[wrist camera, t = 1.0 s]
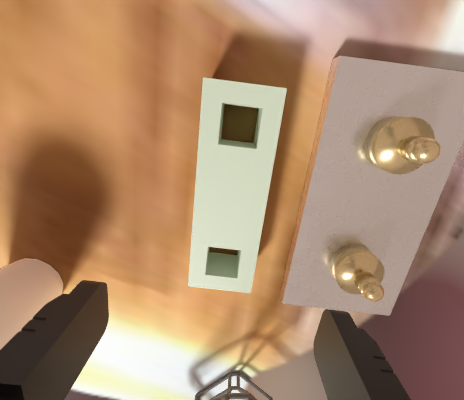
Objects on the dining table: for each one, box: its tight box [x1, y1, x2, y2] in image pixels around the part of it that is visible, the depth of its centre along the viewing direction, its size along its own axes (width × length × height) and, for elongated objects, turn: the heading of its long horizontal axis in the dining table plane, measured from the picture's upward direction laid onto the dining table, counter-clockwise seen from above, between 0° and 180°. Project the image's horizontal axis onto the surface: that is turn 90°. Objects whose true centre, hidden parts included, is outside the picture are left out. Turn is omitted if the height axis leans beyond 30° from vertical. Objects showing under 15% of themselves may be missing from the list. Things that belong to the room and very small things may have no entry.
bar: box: [188, 77, 287, 293], centre depth 23 cm, size 18×6×4 cm, turn 173°
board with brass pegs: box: [280, 56, 464, 315], centre depth 22 cm, size 24×12×6 cm, turn 173°
